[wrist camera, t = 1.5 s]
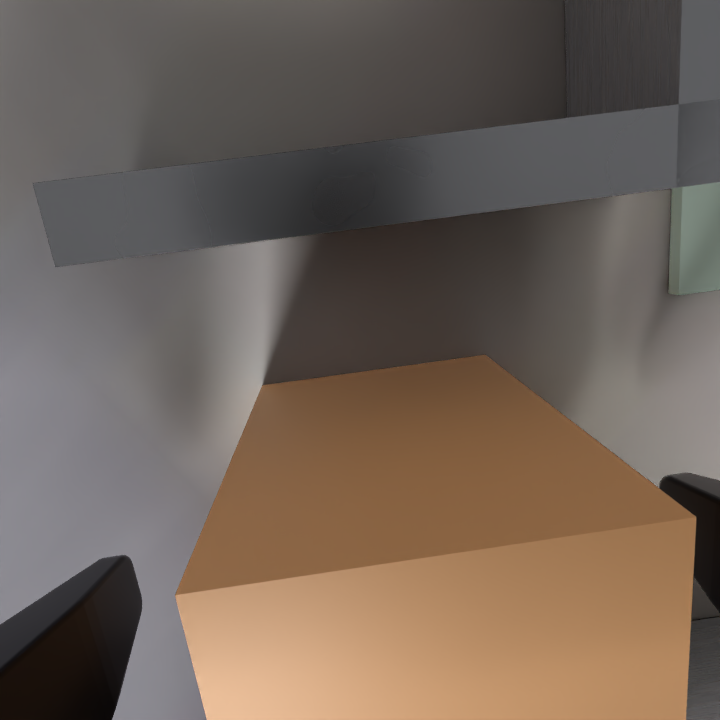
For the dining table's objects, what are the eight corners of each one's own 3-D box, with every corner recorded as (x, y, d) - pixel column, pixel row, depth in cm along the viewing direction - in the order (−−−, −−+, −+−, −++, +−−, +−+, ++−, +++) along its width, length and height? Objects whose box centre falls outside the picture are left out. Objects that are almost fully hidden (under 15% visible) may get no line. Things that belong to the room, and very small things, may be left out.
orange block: (496, 547, 11) (677, 881, 5) (297, 577, 11) (266, 952, 5) (484, 354, 10) (696, 517, 4) (262, 385, 10) (174, 595, 4)
